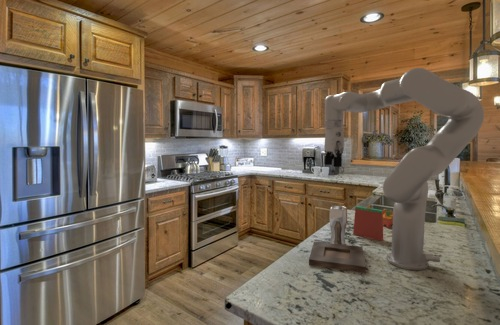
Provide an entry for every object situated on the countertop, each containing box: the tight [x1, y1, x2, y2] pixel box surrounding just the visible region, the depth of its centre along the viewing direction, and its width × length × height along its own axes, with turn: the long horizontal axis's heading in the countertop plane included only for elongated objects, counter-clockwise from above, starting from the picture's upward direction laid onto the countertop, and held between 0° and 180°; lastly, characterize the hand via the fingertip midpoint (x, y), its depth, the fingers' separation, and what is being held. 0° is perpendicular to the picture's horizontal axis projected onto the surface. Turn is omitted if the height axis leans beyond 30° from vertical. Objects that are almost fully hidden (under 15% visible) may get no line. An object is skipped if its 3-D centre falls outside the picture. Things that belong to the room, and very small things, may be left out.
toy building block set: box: [352, 205, 393, 242], centre depth 133 cm, size 12×35×14 cm, turn 135°
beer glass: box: [329, 205, 348, 245], centre depth 114 cm, size 7×7×15 cm
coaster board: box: [308, 241, 367, 274], centre depth 99 cm, size 18×18×2 cm
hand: (332, 165), depth 117 cm, fingers open, 9 cm apart
